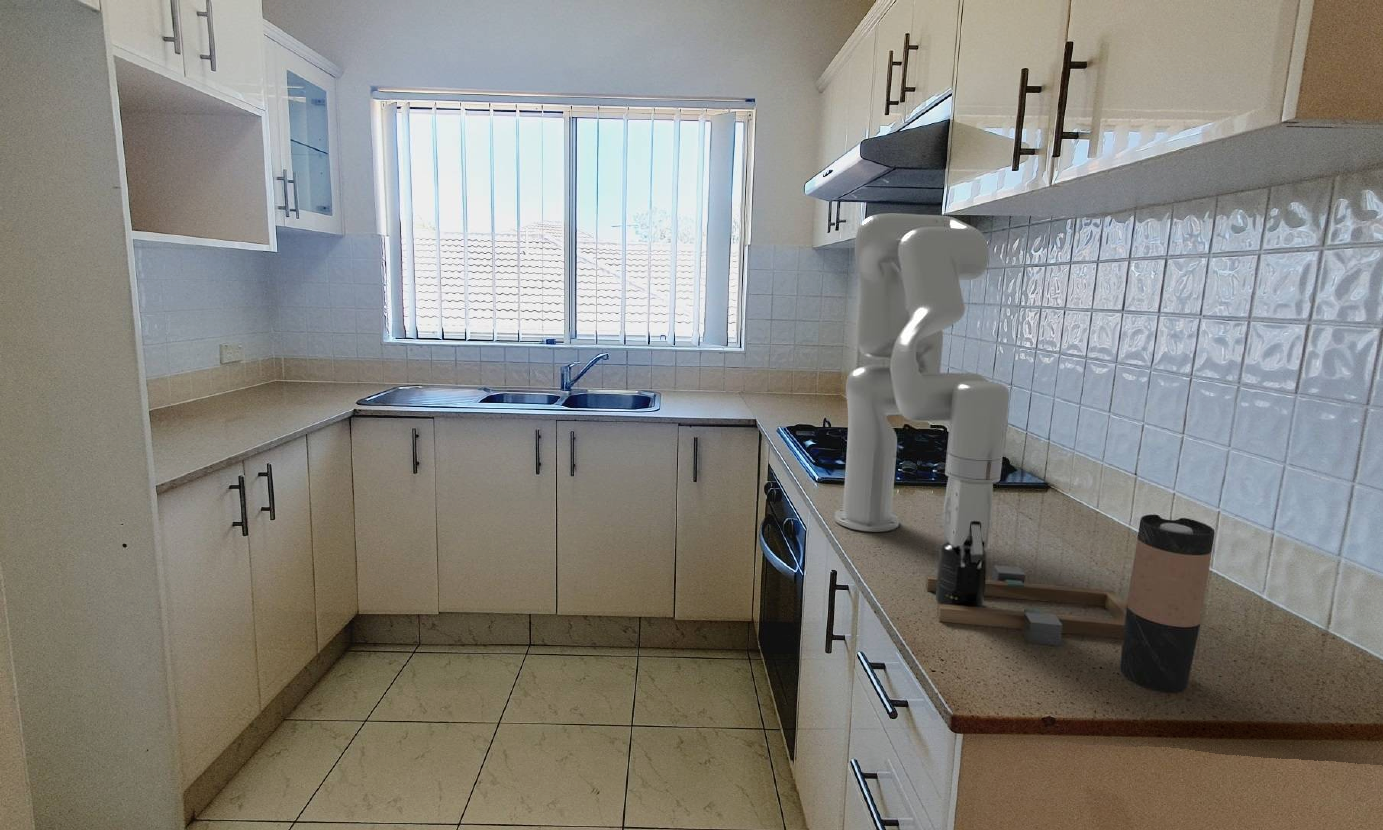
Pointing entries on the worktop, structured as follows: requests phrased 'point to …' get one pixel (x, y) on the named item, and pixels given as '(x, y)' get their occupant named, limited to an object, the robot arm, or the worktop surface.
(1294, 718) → the worktop surface
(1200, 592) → the travel mug
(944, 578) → the supplement bottle
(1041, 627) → the pivot blocks
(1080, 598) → the walnut rails
